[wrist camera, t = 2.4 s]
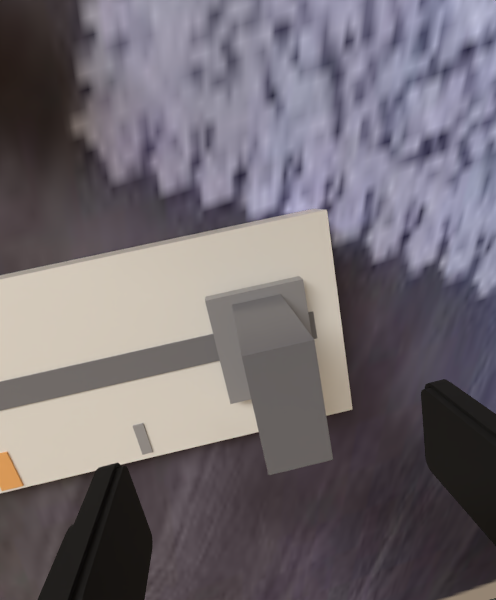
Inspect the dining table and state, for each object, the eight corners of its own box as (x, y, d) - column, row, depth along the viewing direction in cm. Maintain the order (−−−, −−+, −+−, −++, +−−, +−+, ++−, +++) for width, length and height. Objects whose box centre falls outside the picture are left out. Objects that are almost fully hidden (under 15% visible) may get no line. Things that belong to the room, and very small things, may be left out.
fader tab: (299, 275, 18) (348, 318, 11) (315, 376, 20) (366, 462, 13) (205, 296, 18) (201, 351, 11) (230, 396, 19) (238, 493, 13)
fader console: (312, 208, 20) (327, 209, 17) (338, 388, 23) (353, 410, 21) (-129, 302, 19) (-180, 318, 16) (-34, 475, 22) (-65, 509, 20)
